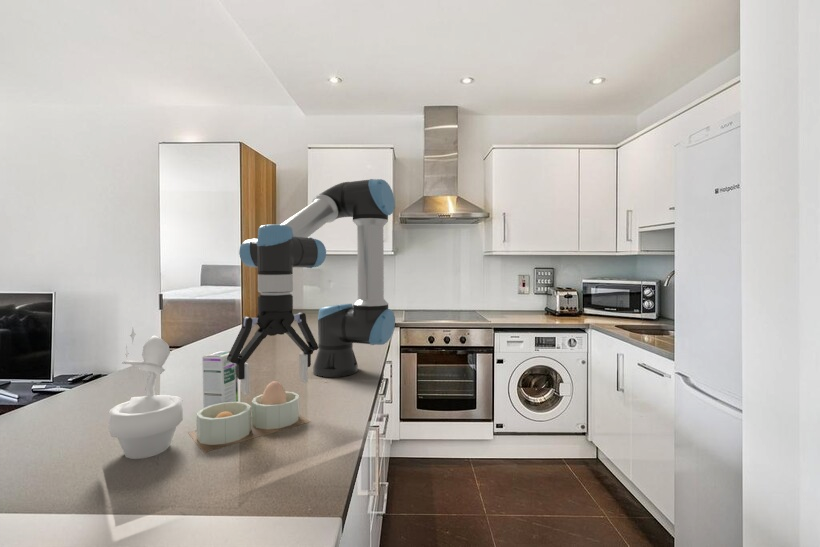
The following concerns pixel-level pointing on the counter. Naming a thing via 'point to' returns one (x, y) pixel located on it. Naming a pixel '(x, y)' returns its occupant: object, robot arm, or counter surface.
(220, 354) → the syrup box
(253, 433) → the rack board
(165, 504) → the counter surface
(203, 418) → the cup
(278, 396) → the egg
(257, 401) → the cup
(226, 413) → the rubber ball
